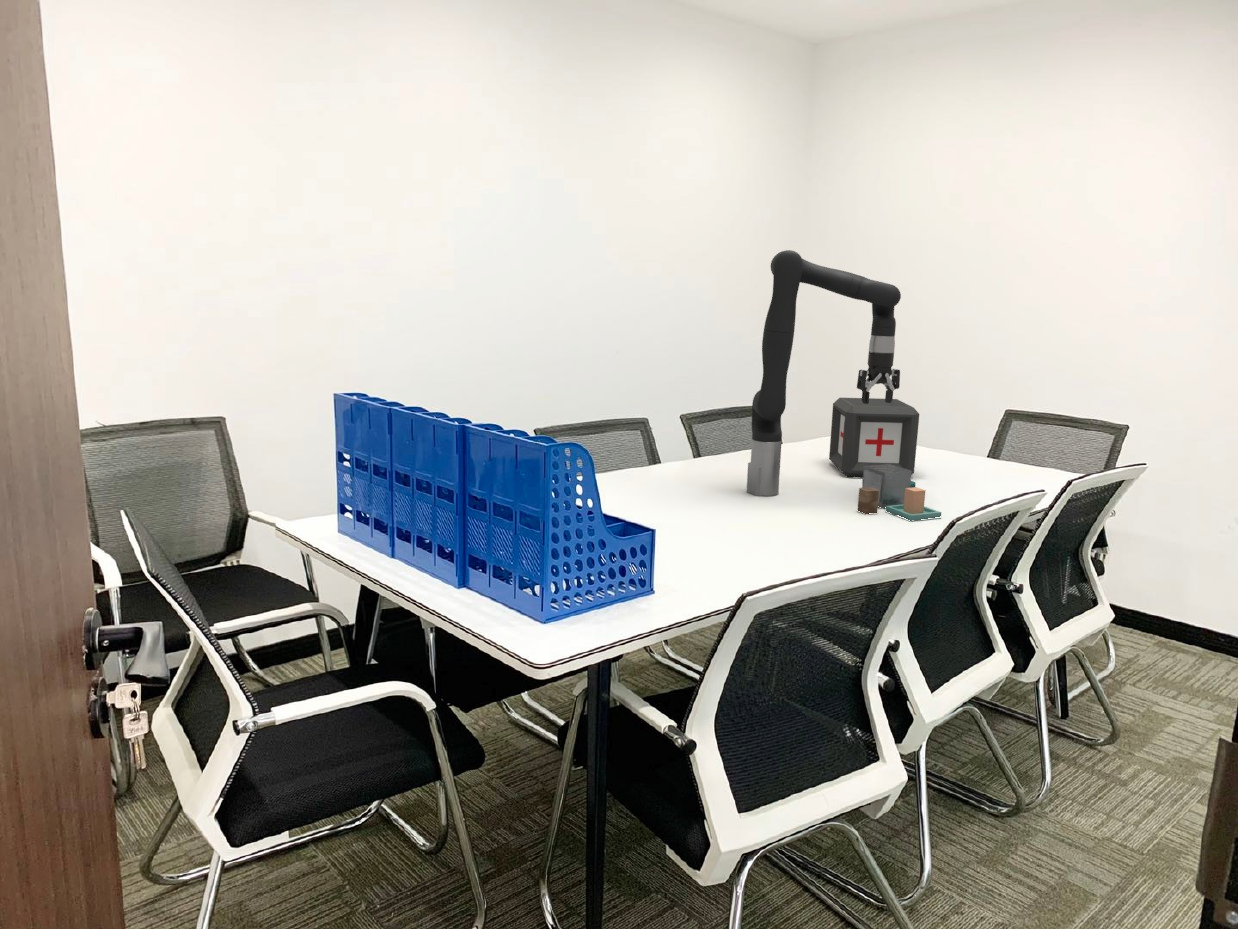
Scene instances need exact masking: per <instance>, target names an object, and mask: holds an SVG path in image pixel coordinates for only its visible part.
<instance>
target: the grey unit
mask: <svg viewBox="0 0 1238 929" xmlns="http://www.w3.org/2000/svg"><path fill="white" fill-rule="evenodd" d="M911 473H912V471H911V470H907V469H904V468H901V467H898V466H894V465H891V464H885V465H872V466H864V470H863V478H862V483H861V484H862V486H861V488H869V487H871V488H873V489H876V490H879V496H878V506H879V507H881V508H880V509H882V508H884V509H886V508H885V507H886V506H892V505H902V504H904V496H905V488H910V484H911V481H912V475H911ZM879 507H878V508H879Z"/></svg>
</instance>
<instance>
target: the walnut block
mask: <svg viewBox="0 0 1238 929" xmlns="http://www.w3.org/2000/svg"><path fill="white" fill-rule="evenodd" d="M878 496H879V490H876V489H873V488H871V487H869V488H862V487H861V488H860V487H859V489H858V498H857V499H858V500H857V510H858V511H860V512H863V513H865V514H864V515H866V514H868V515H870V514H869V513H877V514H878V508H879V507H878ZM858 511H857V512H858ZM860 512H859V513H860ZM863 513H862V514H863Z"/></svg>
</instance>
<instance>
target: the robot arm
mask: <svg viewBox="0 0 1238 929" xmlns="http://www.w3.org/2000/svg"><path fill="white" fill-rule="evenodd" d="M770 270H771V274H772V275H773V281H772V283H773V284H772V294H771V295H772V296H771V301H770V304H769V306H768V307H769V308H768V310H767V314H766V317H765V322H764V327H763V333H762V340H761V342H762V343H761V344H762V345H761V353H762V354H761V355H762V381H761V385H760V389H759V390H758V391H756V393H755V394H754V396H753V398H752V403H751V404H752V405H751V448H750V449H751V452H750V462H748V463H747V474H746V477H747V478H746V492H747V493H750V494H751V495H753V496H755V497H757V496H759V497H760V496H761V497H772V496H777V495H779V492H780V491H779V488H780V474H781V473H780V471H781V470H780V469H781V459H782V458H781V457H782V456H781V455H782V443H783V442H782V441H783V432H782V415H783V414H784V412H785V409H786V406H787V402H786V400H787V376H788V370H789V366H790V360H791V356H792V350H793V345H794V343H793V342H794V336H795V326H796V315H797V314H796V313H797V298H798V293H799V288H800V284H805V285H806V284H807V285H810V286H815V287H817V288H821V289H824V290H827V291H829V292H832V293H835V294H838V295H841V296H844V297H847V298H850V299H853V300H857V301H864V302H867V303H869V304H870V303H871V310H872V311H871V312H872V321H871V322H872V324H871V330H870V331H871V332H870V339H869V344H868V345H869V346H868V355H867V365H868V368H867V370H865V369H858V376H857V382H856V389H857V390H860V391H861V398H862V402H863V403H864V404H868V403H869V398H870V394H871V393H870V390H871V389H872V388H873V387H874V386H875V385H879V384H881V385H883V386H884V387H885V389H886V390H885V395H884V396H885V397H884V399H885V402H886V403H891V401H892V400H893V399H894V398H893V397H894V391H895V390H898V389H900V383H901V382H900V381H901V370H900V369H897V368H892V367H893V366H894V357H895V347H896V340H895V339H896V338H895V336H896V327H897V321H896V318H895V307H896V306H897V305H898V304H900V303H899V302H900V301H901V299H902V296H901V295H902V294H901V291H900V289H899V288H898V287H897V286H895V285H894V284H891V283H886V282H884V281H878V280H873V279H871V278H868V277H865V276H862V275H859V274H855V273H852V272H849V271H845V270H841V269H836V268H831V267H828V266H823V265H819V264H817V263H813V262H810V261H808V260H806V259H804V258H802V256H801V255H800V253H798V252H796V251H795V250H791V249H789V250H787V249H786V250H781V251H780V252H778V253H777V254H776V255H774V256H773V258H772V259H771V261H770Z"/></svg>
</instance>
